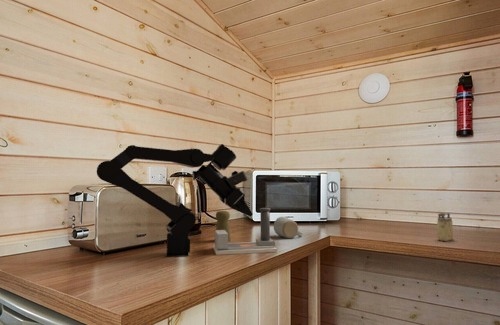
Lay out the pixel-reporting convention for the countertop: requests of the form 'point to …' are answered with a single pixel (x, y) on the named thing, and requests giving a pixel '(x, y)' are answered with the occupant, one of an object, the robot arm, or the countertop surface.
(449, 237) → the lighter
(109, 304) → the countertop surface
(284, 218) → the ceramic mug
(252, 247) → the press base
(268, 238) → the press handle
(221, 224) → the cork
